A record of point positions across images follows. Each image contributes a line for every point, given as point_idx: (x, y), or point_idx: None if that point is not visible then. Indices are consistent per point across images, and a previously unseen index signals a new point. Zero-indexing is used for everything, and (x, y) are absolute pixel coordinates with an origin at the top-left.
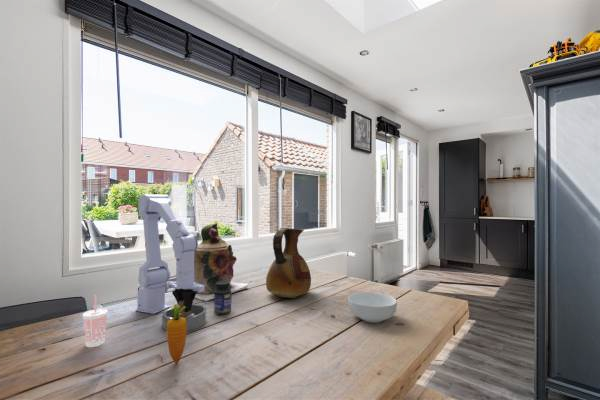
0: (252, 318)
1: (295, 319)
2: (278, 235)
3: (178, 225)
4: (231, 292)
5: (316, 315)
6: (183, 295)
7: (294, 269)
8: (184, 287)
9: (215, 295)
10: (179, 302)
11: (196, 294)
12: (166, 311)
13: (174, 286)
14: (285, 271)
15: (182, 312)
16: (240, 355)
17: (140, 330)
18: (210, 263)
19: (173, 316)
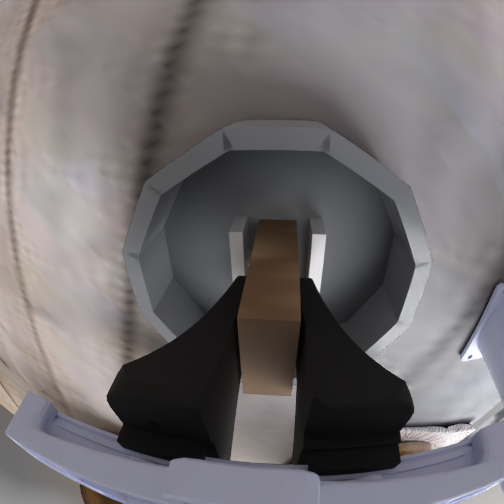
0: (75, 346)
1: (17, 346)
2: None
3: None
4: (290, 464)
5: (16, 365)
6: (191, 373)
7: (83, 493)
8: (132, 476)
9: None
10: (290, 314)
11: (401, 438)
12: (414, 246)
13: (383, 490)
14: (96, 495)
15: (256, 256)
16: None
17: (455, 85)
18: None
19: (385, 277)
